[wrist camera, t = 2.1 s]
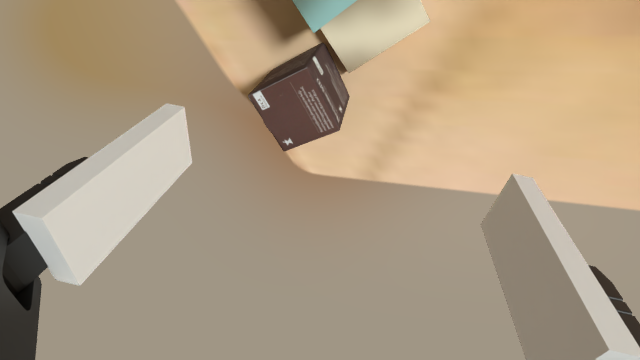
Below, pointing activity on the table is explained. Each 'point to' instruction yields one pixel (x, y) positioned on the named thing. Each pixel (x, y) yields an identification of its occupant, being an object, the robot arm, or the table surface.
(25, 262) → the robot arm
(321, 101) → the box
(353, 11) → the teal and cream block
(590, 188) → the table surface
